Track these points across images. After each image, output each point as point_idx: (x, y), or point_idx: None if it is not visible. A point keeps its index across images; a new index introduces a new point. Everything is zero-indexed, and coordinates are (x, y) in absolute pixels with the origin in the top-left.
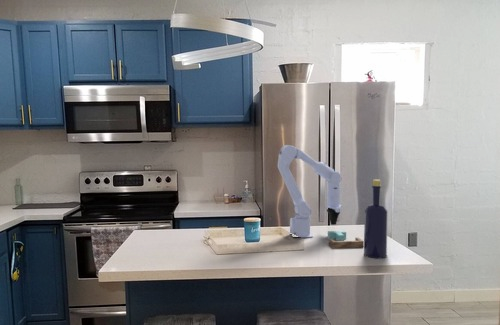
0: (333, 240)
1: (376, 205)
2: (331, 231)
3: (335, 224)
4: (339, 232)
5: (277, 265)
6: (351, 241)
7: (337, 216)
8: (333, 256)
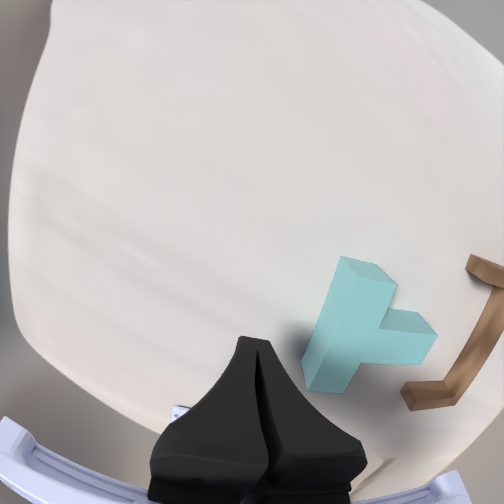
0: (443, 401)
1: None
2: (324, 374)
3: (269, 344)
4: (377, 337)
5: (423, 481)
6: (499, 335)
7: (308, 407)
8: (480, 402)
